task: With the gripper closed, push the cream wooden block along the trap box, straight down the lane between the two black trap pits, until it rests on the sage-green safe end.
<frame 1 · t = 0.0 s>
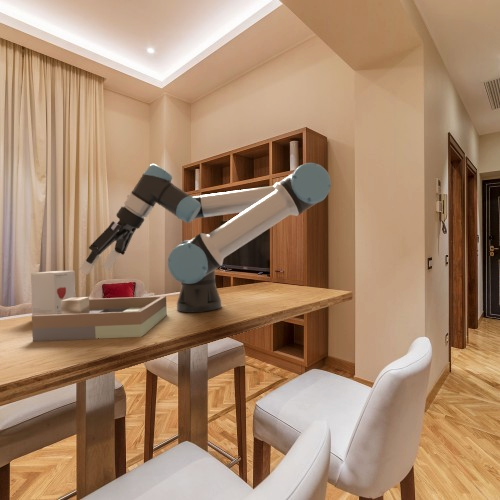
hand: (95, 270, 95), 15 cm above the table, tool tilted 35°, fingers open, 13 cm apart
supplement box: (55, 318, 102), on the table
cream block: (76, 316, 87), point 3 cm above the table, touching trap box
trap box: (109, 326, 87), on the table
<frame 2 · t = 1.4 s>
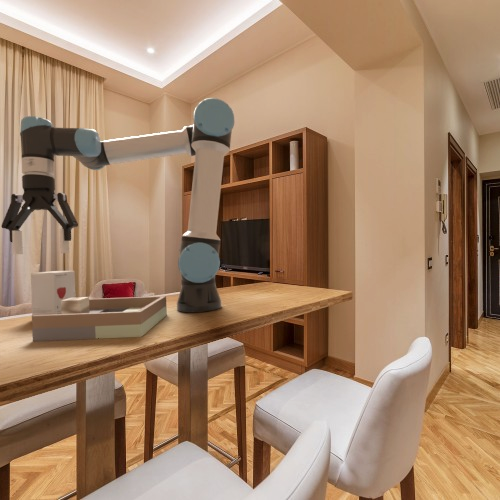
hand: (41, 253, 87), 21 cm above the table, tool pointing down, fingers open, 12 cm apart
nothing on the table moved.
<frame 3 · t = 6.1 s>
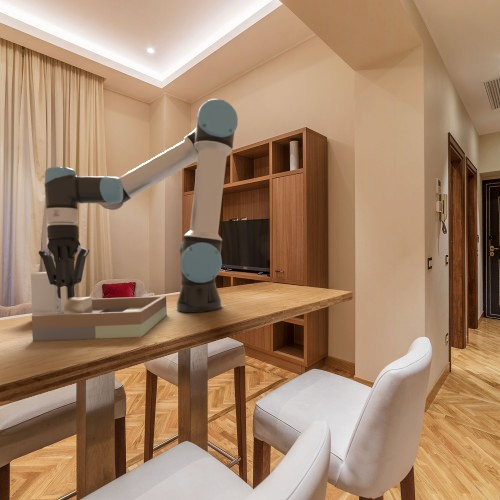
hand: (67, 309, 87), 5 cm above the table, tool pointing down, fingers closed
cream block: (79, 316, 87), point 3 cm above the table, touching gripper
everything else where it was.
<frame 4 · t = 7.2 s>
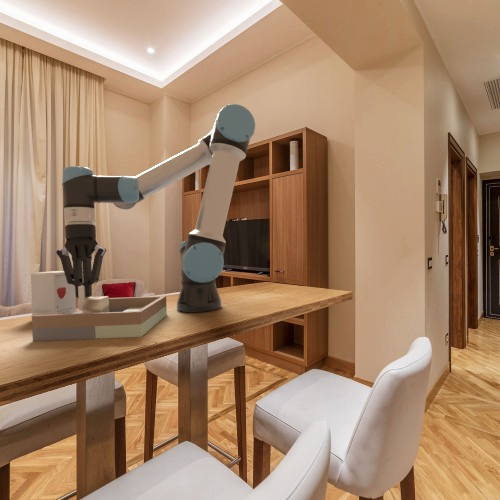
hand: (84, 308, 87), 5 cm above the table, tool pointing down, fingers closed
cream block: (96, 315, 87), point 3 cm above the table, touching gripper
everything else where it was.
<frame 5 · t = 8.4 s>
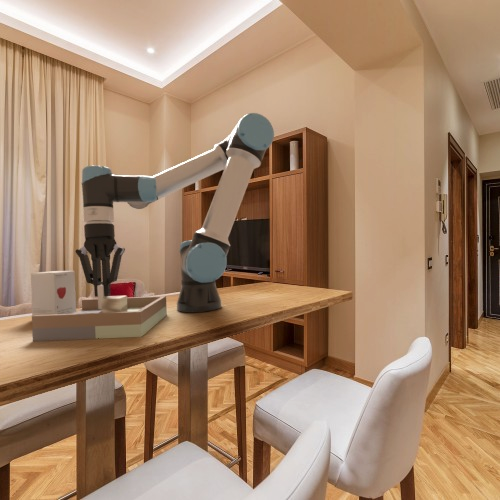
hand: (103, 308, 87), 5 cm above the table, tool pointing down, fingers closed
cream block: (115, 315, 87), point 3 cm above the table, touching gripper
everything else where it was.
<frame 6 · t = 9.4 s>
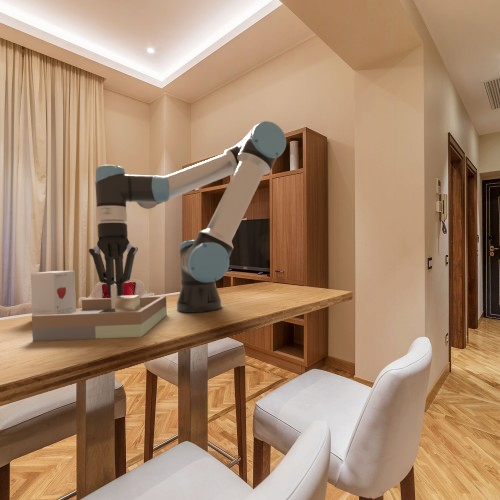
hand: (116, 307, 87), 5 cm above the table, tool pointing down, fingers closed
cream block: (128, 314, 87), point 3 cm above the table, touching gripper
everything else where it was.
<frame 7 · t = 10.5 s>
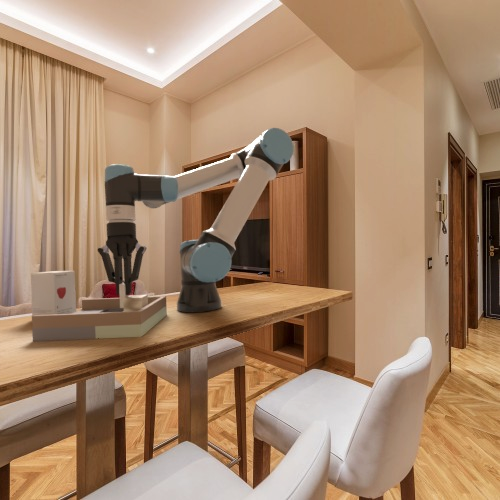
hand: (124, 306, 87), 5 cm above the table, tool pointing down, fingers closed
cream block: (136, 314, 87), point 3 cm above the table, touching gripper, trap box
everything else where it was.
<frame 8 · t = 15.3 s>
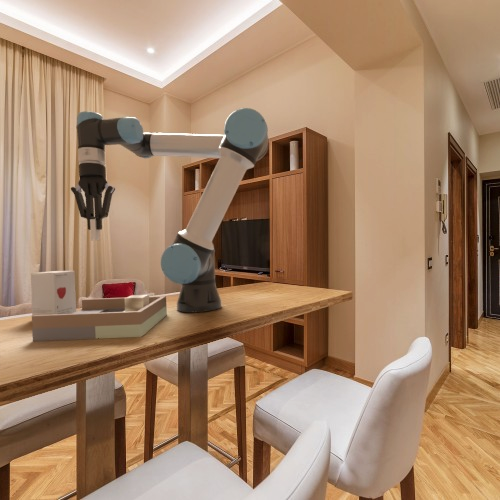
hand: (95, 240, 98), 24 cm above the table, tool pointing down, fingers closed
cream block: (137, 314, 87), point 3 cm above the table, touching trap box
everything else where it was.
at the end: cream block 0.8 cm from the target spot on the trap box, point 3.0 cm above the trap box's base; cream block tilted 0° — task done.
